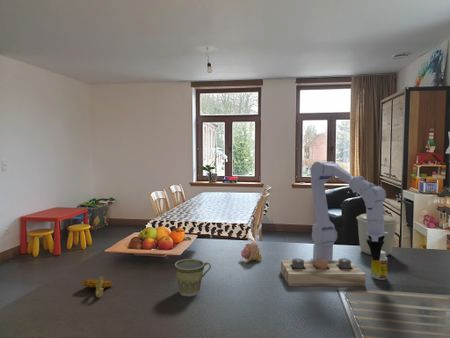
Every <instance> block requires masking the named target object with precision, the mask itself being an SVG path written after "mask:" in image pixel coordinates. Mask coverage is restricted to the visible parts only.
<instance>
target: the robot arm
mask: <svg viewBox="0 0 450 338" xmlns="http://www.w3.org/2000/svg"><path fill="white" fill-rule="evenodd" d="M309 171H310V176H311V177H310V187H311V192H312V193H311V194H312V201H313V208H314V214H315V223H314V224H313V225H312V227H311V230H312V232H311V239H312V242H313V243H314V244H313V249H312V250H313V251H312V258H310V261H316V259H325V260H327V261H334V259H333V255H334V252H333V251H334V244H335V242H336V241H337V239H338V231H337V230H336V228H335V227H336V226H335V224H334V223H333V222H332V221H331V220H330V215H329V209H328V208H329V207H328V201H327V194H326V186H325V184H326V183H327V182H328V180H331V178H333V177H336V178H337V179H340V180H341V181H343V182H345V183H346V184H348V188H349V189H351V191H354V192H355V193H356V194H358V195H359V196H361V198H362V200H363V201H364V206H365V214H366V219H367V232H366V234H367V235H368V237H369V239H370V240H369V239H367V240H366V242H367V244H368V245H369V248H370V251H371V255H370V256H371V260H372V259H373V260H377V261H379V260H380V254H381V248H382V246H383V244H384V241H383V239H384V237H385V236H384V235H388V232H384V215H385V213H384V201H385V200H386V198H387V192H386V189H384V188H383V187H382V185H376V186H375V184H374V183H373V182H370V181H368V180H366V179H365V177H364V176H362V175H354V176H353V175H352V174H351V173H349V172H348V171H347V170H345V169H344V168H342V167H341V166H340V165H339V164H338V163H336V162H335V161H331V160H330V161H314V162H313V164H312V165H311V166H310V168H309Z"/></svg>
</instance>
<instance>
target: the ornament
mask: <svg viewBox="0 0 450 338" xmlns="http://www.w3.org/2000/svg"><path fill="white" fill-rule="evenodd" d="M104 279H105V277H104V276H99V277H98V279H95V278H94V279H86V280H82V281H81V283H80V284H81V286H82V287H88V288H95V296H96V297H97V299H99V298H101V297H102V296H103V293H104V289H106V288H111V287H112V286H113V282H112V281H108V280H104Z"/></svg>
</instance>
